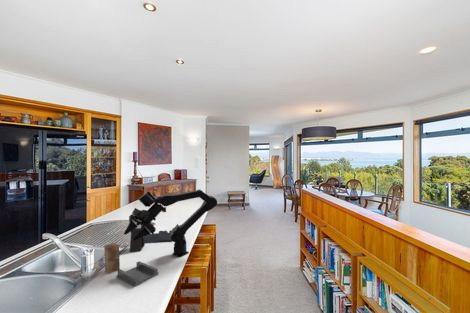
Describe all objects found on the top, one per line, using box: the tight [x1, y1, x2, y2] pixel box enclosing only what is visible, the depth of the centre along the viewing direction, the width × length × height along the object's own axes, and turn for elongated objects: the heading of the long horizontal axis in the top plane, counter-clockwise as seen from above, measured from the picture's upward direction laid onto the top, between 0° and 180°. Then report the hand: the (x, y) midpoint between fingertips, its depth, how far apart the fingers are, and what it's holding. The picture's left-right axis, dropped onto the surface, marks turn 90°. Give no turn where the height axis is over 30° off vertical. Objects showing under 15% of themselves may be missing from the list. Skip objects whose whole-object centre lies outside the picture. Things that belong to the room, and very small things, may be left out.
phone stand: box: [129, 227, 146, 253], centre depth 139 cm, size 9×6×12 cm, turn 6°
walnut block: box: [103, 242, 121, 274], centre depth 113 cm, size 5×5×12 cm
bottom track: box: [116, 261, 159, 287], centre depth 107 cm, size 12×14×3 cm
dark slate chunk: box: [143, 229, 174, 245], centre depth 155 cm, size 15×22×5 cm
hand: (128, 237), depth 116 cm, fingers open, 9 cm apart
